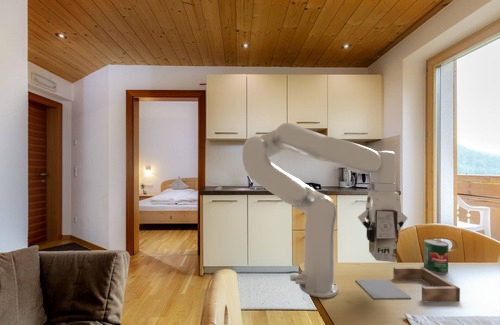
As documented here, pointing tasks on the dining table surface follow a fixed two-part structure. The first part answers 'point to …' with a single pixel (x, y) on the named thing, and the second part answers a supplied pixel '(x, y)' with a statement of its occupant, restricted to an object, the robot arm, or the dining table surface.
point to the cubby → (440, 289)
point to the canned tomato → (436, 256)
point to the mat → (382, 289)
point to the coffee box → (385, 236)
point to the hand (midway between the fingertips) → (382, 240)
